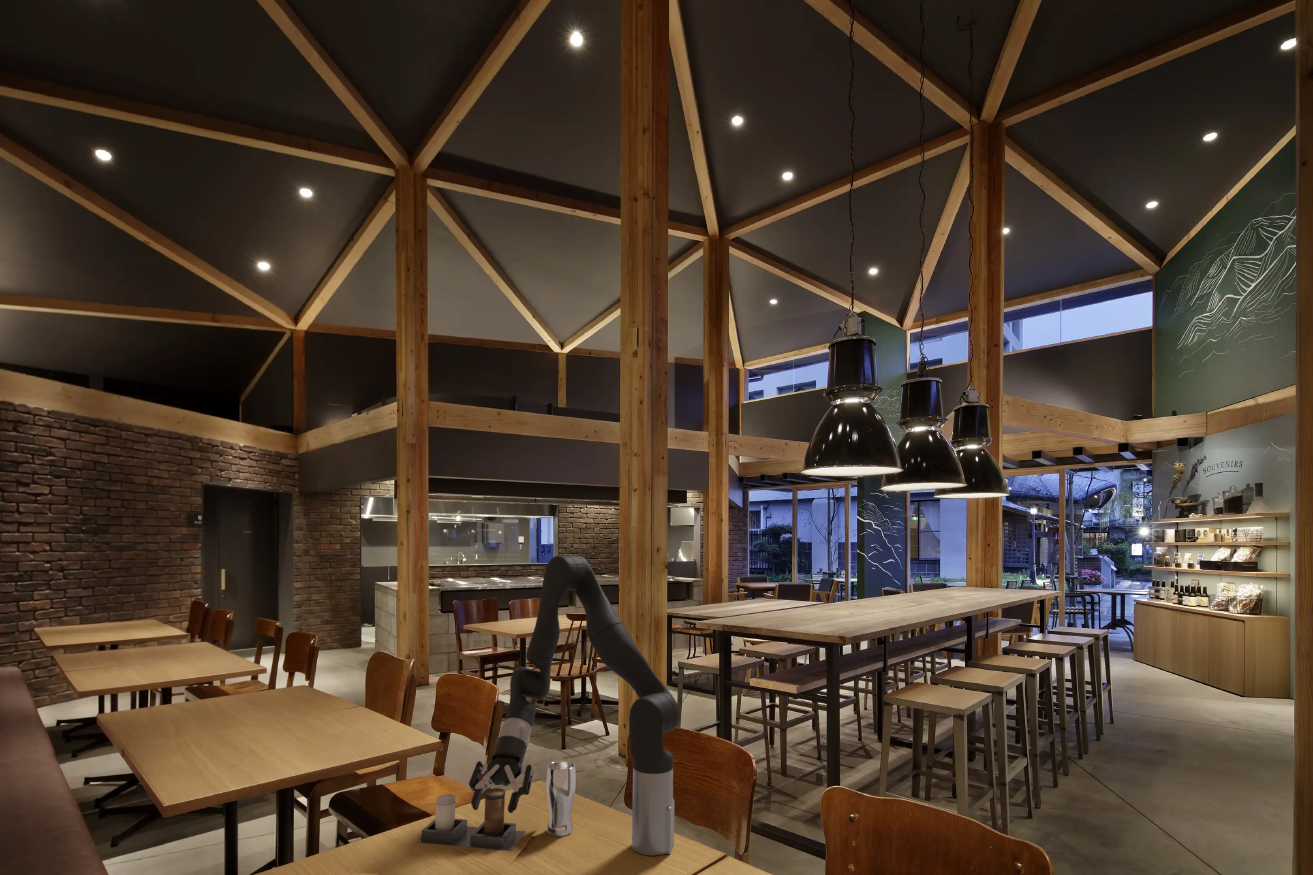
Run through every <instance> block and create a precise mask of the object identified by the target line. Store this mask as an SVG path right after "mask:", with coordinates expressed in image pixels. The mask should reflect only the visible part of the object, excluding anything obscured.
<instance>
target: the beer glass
mask: <svg viewBox="0 0 1313 875" xmlns="http://www.w3.org/2000/svg"><path fill="white" fill-rule="evenodd" d="M546 770H547V773H546V784H545V785H546V786H545V787H546V789H545V790H546V800H547V806H548V824H547V829H546V833H547V834H548V835H549V834H550V835H549V836H551V835H552V836H551V837H555V836H561V837H566V836H568V834H569V835H571V834H572V833H573V832H574V831H573V830H574V828H573V822H572V813H573V812H572V810H573V806H574V799H575V793H576V779H577V778H576V776H577V775H576V763H575V762H572V761H570V760H556V761H552V762H550V763H548V765H547V769H546ZM571 832H572V833H571ZM570 833H571V834H570ZM565 835H566V836H565Z"/></svg>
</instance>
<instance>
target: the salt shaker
mask: <svg viewBox="0 0 1313 875" xmlns="http://www.w3.org/2000/svg"><path fill="white" fill-rule="evenodd" d="M456 804H457V803H456V795H454V794H449V793H448V794H441V795H439V796H437V797H436V802H435V814H434V816H435V817H434V819H435V830H439V831H452V830H453V829H454V827H455V819H456Z"/></svg>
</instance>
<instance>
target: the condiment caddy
mask: <svg viewBox="0 0 1313 875" xmlns="http://www.w3.org/2000/svg"><path fill="white" fill-rule="evenodd" d="M526 833H527V832H526V831H525V830H517V823H512V822H504V834H503V835H502V836H494V835H484V821H483V822H482V823H481V824H480V825H479V826H477V827H476V826H468V819H464V818H455V827H454V829H453V830H452V831H439V830H435V818H434V819H433V820H432V821H431V822H430V823H428V825H426V826H425V827H423V829H422V830H421V834H420V839H419V840H417V843H420V844H431V845H443V846H452V847H464V848H474V849H475V848H476V849H486V850H497V851H508V852H511V851H512V849H513V848H514V847H515V846H516V844H518V842H519V841H520V840H521V839H522V837H523V836H524V835H525V834H526Z"/></svg>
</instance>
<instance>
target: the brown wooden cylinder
mask: <svg viewBox="0 0 1313 875" xmlns="http://www.w3.org/2000/svg"><path fill="white" fill-rule="evenodd" d="M484 792H485V793H484V798H485V799H484V821H483V822H484V835H494V836H502V835H503V834H504V823H505V805H506V804H505V803H506V801H505V799H506V790H505V789H503V788H498V787H497V788H488V789H486V790H485V791H484Z"/></svg>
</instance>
